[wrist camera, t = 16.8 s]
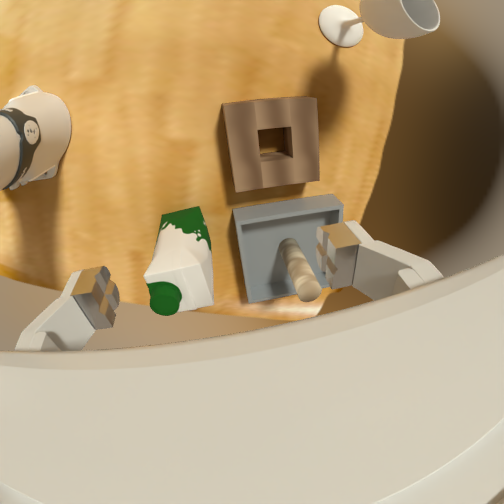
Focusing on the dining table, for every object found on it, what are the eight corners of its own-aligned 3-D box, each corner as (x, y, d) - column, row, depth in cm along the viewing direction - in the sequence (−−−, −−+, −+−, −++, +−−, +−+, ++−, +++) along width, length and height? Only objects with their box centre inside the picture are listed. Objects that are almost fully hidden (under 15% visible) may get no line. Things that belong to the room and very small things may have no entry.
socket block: (233, 182, 47) (236, 192, 43) (221, 103, 39) (223, 105, 34) (309, 171, 48) (319, 180, 44) (305, 96, 39) (316, 97, 35)
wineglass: (317, 41, 34) (392, 22, 17) (319, 0, 29) (389, -35, 12) (361, 51, 35) (446, 50, 18) (363, 13, 30) (444, -4, 13)
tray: (245, 287, 61) (248, 303, 57) (232, 209, 50) (235, 221, 46) (328, 271, 62) (336, 285, 58) (332, 193, 51) (343, 204, 47)
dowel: (284, 257, 57) (304, 305, 45) (275, 244, 54) (294, 292, 43) (300, 248, 56) (324, 293, 44) (292, 234, 54) (316, 279, 42)
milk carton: (156, 211, 47) (134, 284, 31) (203, 200, 48) (205, 269, 31) (169, 250, 52) (160, 329, 36) (214, 240, 53) (221, 318, 37)
